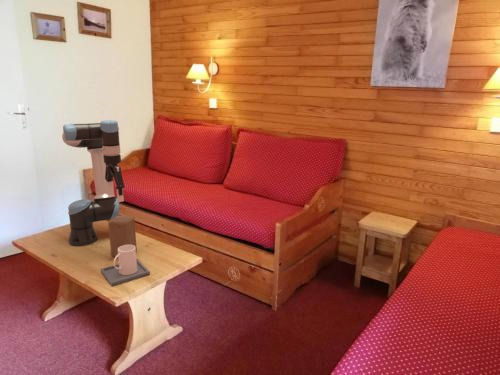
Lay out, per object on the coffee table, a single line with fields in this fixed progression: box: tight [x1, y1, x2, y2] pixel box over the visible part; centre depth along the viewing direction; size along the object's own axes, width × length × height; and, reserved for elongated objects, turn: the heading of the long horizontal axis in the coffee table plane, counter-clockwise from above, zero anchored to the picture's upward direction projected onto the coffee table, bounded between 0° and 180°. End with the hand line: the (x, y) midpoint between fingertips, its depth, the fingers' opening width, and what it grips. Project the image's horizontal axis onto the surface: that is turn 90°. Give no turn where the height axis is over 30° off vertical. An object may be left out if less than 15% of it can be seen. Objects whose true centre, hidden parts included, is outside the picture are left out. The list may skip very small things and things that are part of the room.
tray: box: [100, 258, 151, 287], centre depth 178 cm, size 16×18×2 cm
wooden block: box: [107, 214, 138, 258], centre depth 196 cm, size 10×10×20 cm
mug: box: [113, 245, 138, 275], centre depth 176 cm, size 12×8×12 cm
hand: (115, 198), depth 178 cm, fingers open, 13 cm apart
